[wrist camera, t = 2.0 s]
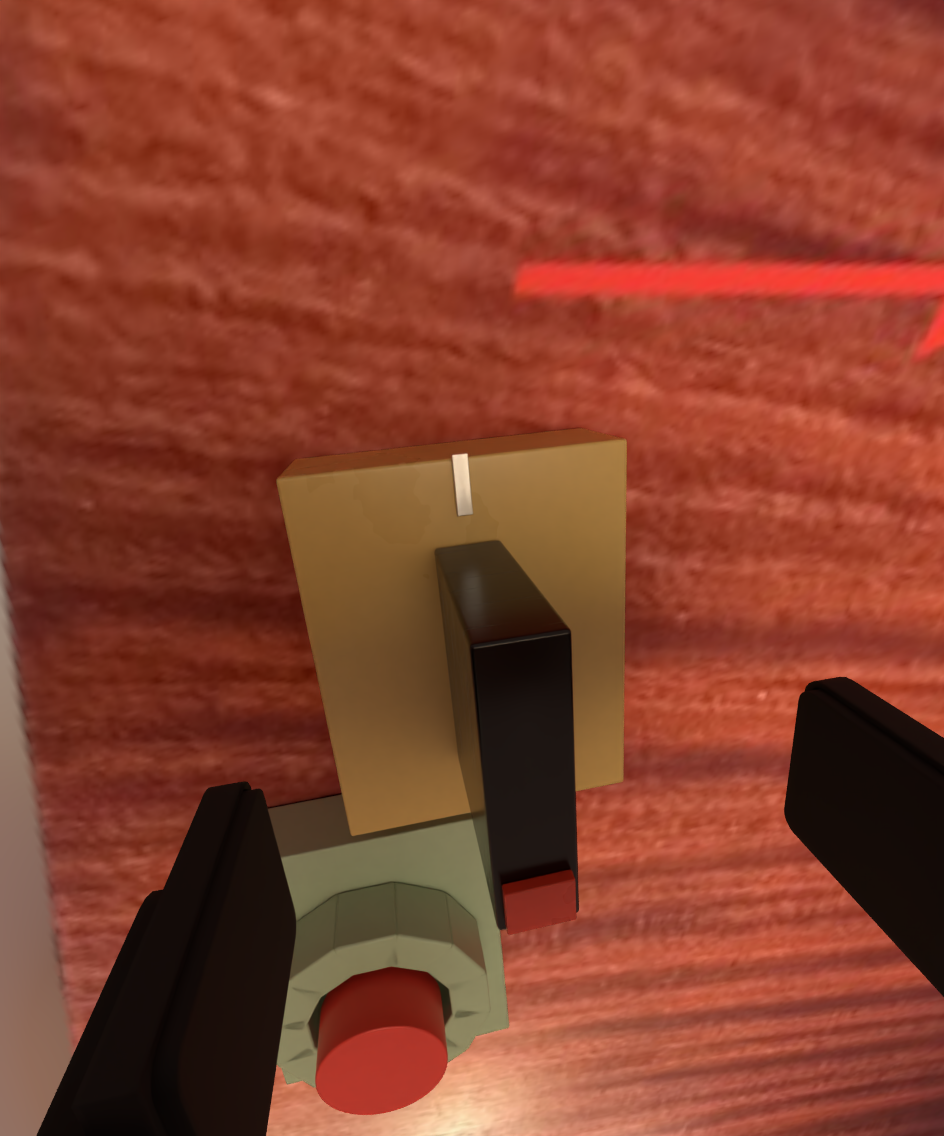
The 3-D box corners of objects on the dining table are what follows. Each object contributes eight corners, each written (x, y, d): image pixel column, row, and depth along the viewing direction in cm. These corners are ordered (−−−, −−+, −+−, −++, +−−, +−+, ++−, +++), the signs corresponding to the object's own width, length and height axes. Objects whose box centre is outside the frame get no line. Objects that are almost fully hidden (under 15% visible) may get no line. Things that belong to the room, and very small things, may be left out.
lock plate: (292, 455, 14) (272, 474, 12) (582, 423, 16) (631, 434, 13) (354, 768, 18) (351, 845, 15) (587, 725, 19) (626, 789, 16)
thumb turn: (433, 547, 13) (472, 653, 8) (500, 538, 13) (578, 636, 8) (457, 758, 15) (500, 945, 10) (515, 747, 15) (585, 925, 10)
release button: (310, 978, 16) (302, 1048, 14) (434, 949, 16) (441, 1013, 15) (331, 1057, 17) (327, 1129, 15) (446, 1028, 17) (454, 1095, 16)
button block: (233, 814, 18) (197, 930, 14) (476, 768, 19) (502, 864, 15) (294, 1016, 21) (278, 1154, 17) (496, 968, 22) (522, 1087, 18)
